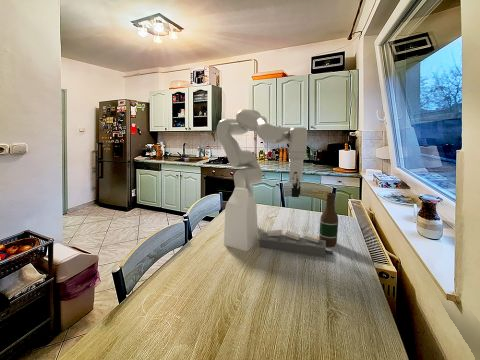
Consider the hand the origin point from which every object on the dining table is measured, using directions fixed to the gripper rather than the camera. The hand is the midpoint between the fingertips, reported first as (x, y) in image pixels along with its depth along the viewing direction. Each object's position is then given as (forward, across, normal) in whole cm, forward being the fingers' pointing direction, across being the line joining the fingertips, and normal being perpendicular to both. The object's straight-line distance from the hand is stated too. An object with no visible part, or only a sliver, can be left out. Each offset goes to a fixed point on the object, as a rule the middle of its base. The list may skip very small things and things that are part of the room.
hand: (295, 195), depth 115 cm
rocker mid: (+17, +6, 0) cm, 18 cm away
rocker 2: (+17, +6, +8) cm, 20 cm away
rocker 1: (+17, +6, -8) cm, 20 cm away
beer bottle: (+23, -2, +15) cm, 27 cm away
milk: (+23, +10, -23) cm, 34 cm away
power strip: (+22, +8, +2) cm, 24 cm away
